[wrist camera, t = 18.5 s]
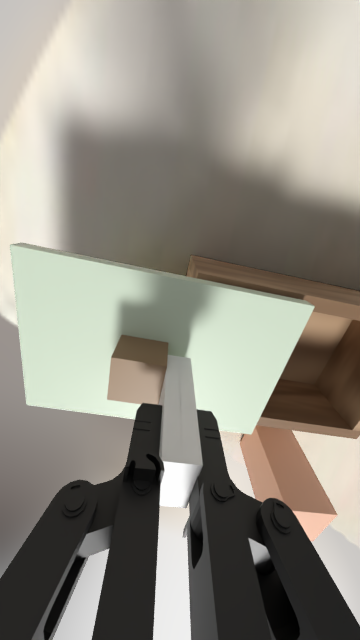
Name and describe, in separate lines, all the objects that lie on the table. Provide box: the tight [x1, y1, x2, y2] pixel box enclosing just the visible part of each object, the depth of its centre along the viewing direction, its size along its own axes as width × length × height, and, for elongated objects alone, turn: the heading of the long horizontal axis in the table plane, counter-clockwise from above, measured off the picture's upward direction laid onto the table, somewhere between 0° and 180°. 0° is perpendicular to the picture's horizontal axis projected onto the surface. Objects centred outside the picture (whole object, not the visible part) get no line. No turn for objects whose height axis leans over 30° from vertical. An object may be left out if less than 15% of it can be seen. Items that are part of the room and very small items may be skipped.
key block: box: [240, 425, 337, 541], centre depth 26 cm, size 5×5×10 cm
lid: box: [10, 243, 315, 435], centre depth 14 cm, size 11×17×4 cm, turn 78°
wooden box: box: [186, 255, 360, 439], centre depth 20 cm, size 12×18×7 cm, turn 78°
